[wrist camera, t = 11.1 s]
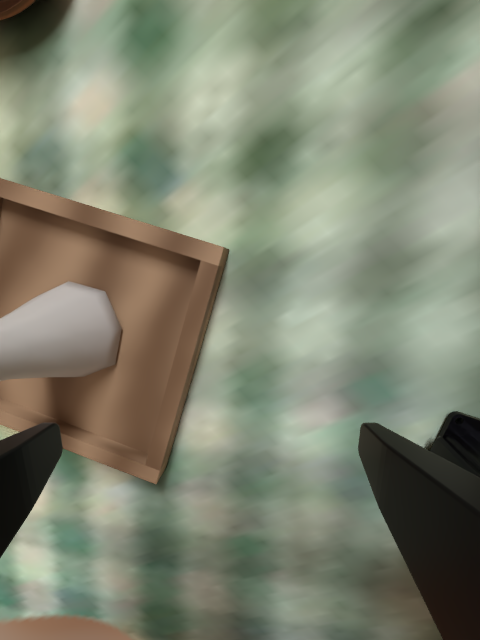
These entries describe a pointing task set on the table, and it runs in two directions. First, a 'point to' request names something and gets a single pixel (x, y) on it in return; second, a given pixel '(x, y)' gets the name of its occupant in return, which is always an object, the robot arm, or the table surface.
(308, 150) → the table surface
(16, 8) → the cup and saucer
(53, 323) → the flask
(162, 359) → the walnut tray
